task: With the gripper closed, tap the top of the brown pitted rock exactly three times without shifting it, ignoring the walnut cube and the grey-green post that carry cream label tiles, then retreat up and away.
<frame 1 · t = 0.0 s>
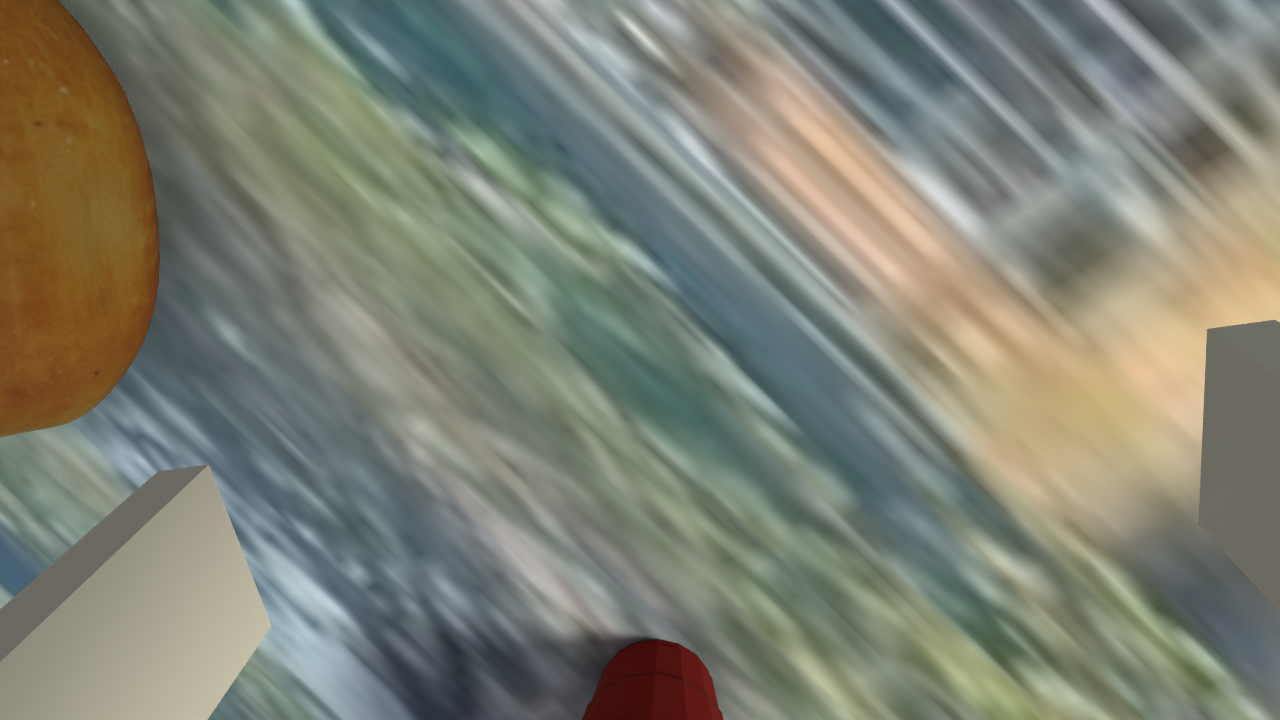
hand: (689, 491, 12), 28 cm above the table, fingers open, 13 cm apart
plastic cup: (660, 677, 49), on the table
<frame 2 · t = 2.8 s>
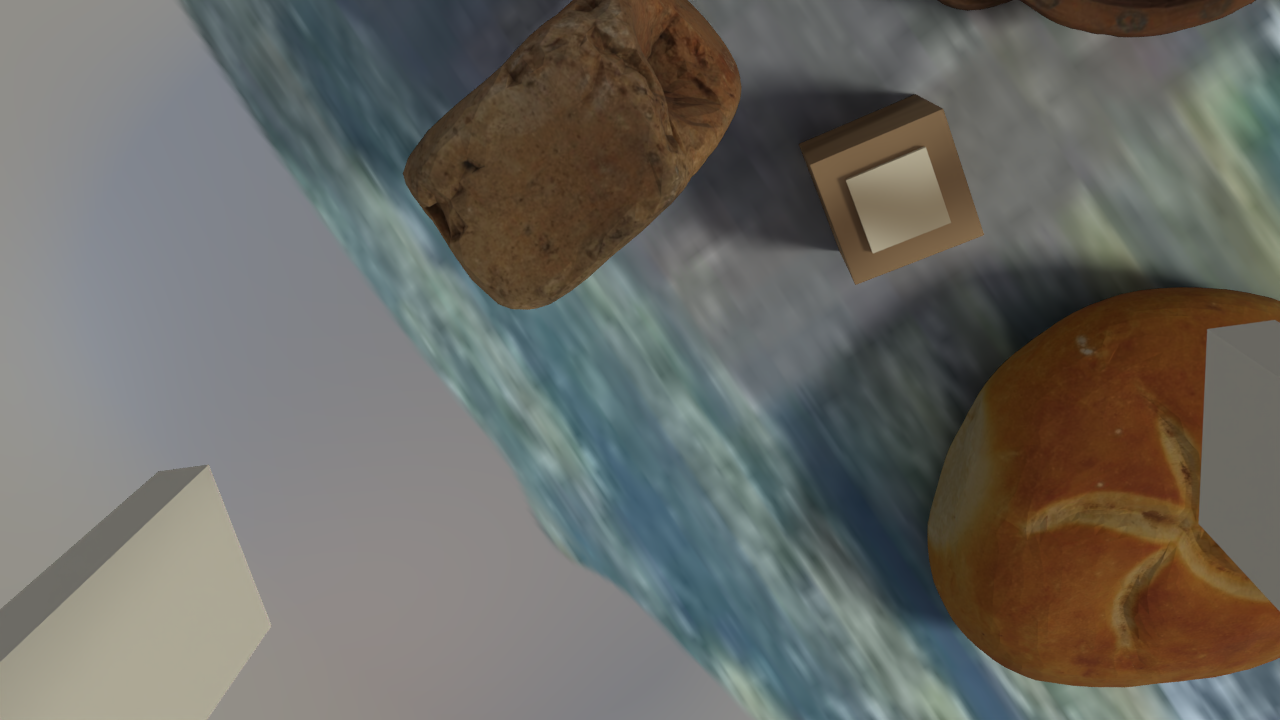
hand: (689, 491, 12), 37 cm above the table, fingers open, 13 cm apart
bread: (1114, 460, 52), on the table
walnut cube: (875, 175, 47), on the table
brown pitted rock: (623, 90, 46), on the table
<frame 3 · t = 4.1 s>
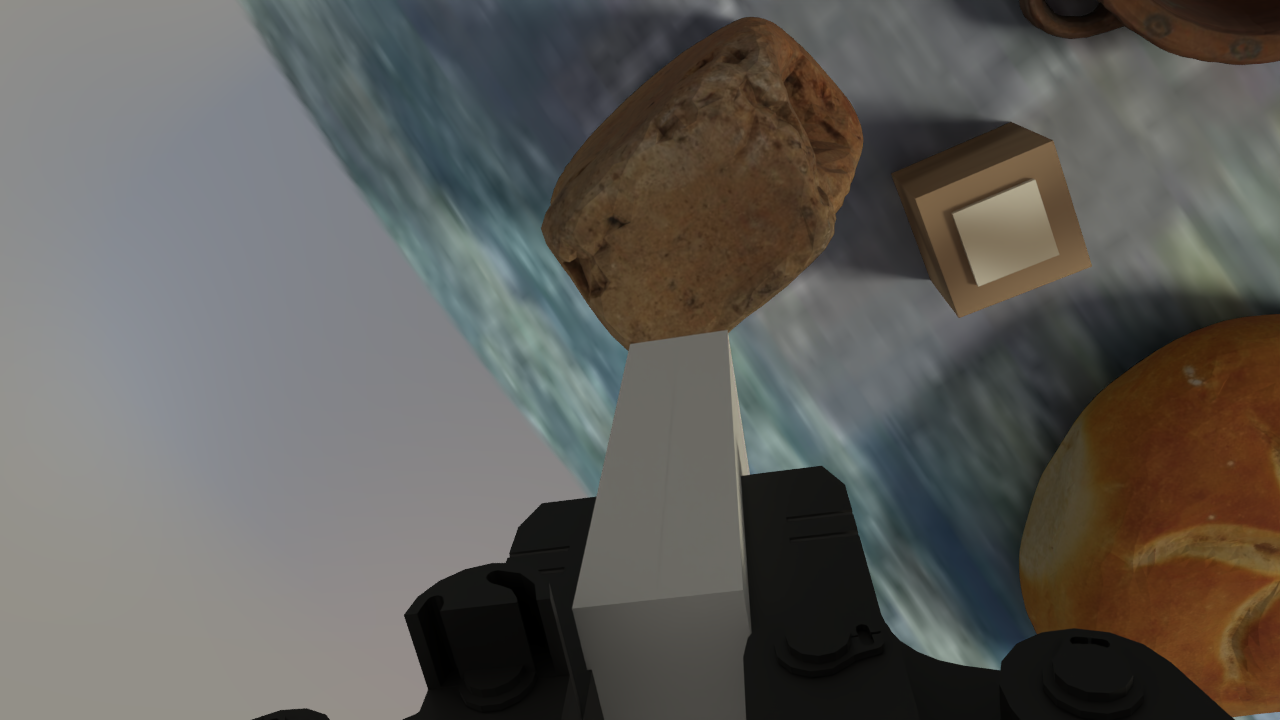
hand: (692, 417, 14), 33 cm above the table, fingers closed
bread: (1207, 485, 51), on the table
walnut cube: (969, 203, 46), on the table
brown pitted rock: (712, 123, 45), on the table
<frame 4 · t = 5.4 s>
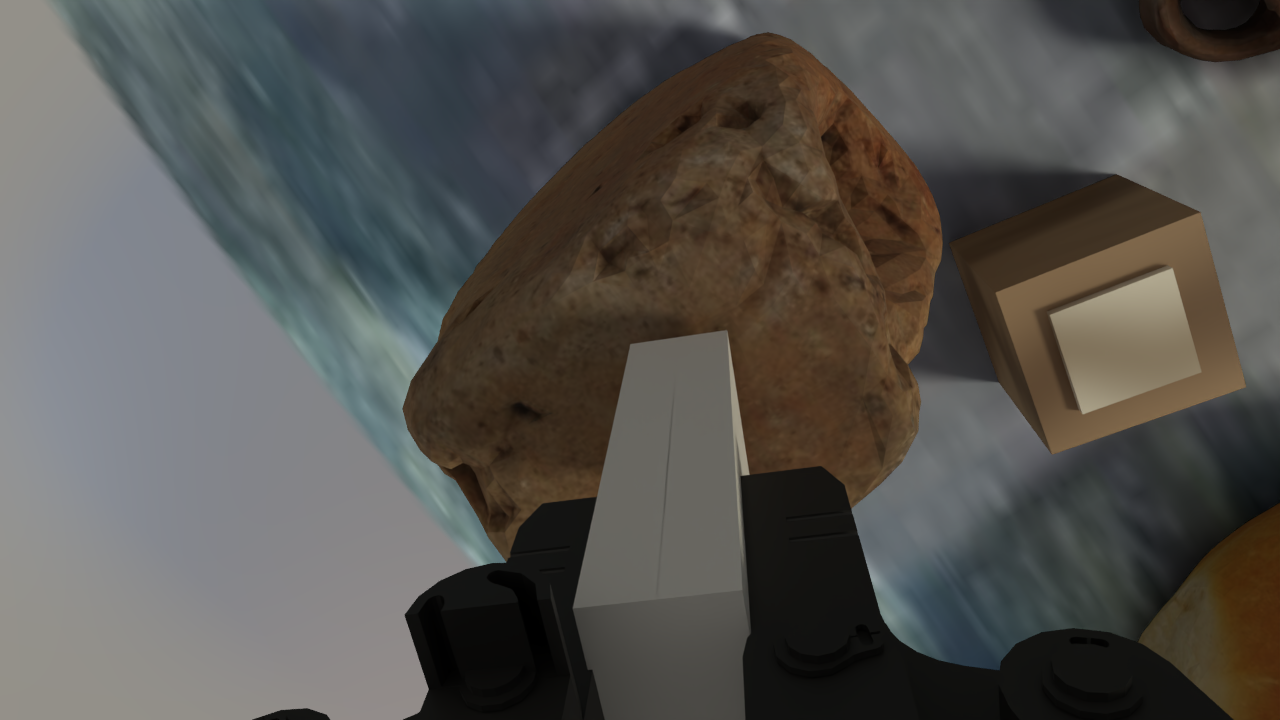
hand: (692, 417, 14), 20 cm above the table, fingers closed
walnut cube: (1054, 282, 34), on the table
brown pitted rock: (705, 173, 33), on the table, touching gripper
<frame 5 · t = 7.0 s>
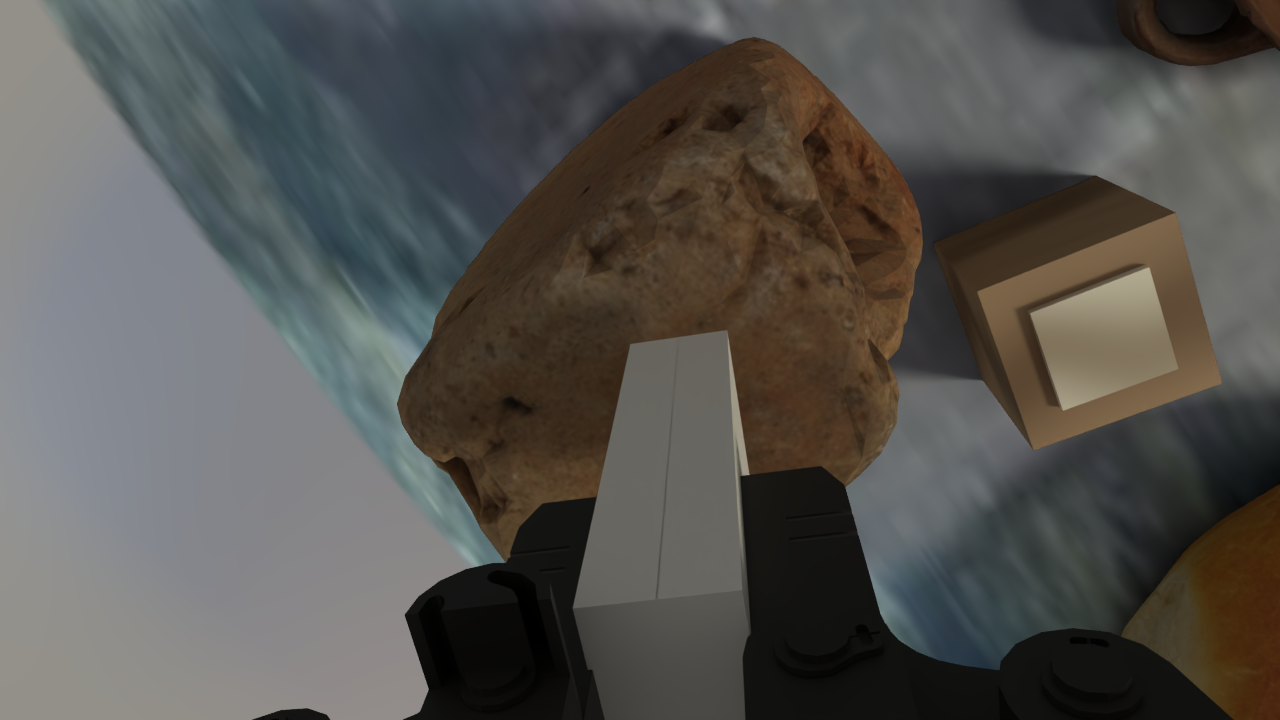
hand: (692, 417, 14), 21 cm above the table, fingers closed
walnut cube: (1036, 282, 34), on the table
brown pitted rock: (693, 176, 34), on the table
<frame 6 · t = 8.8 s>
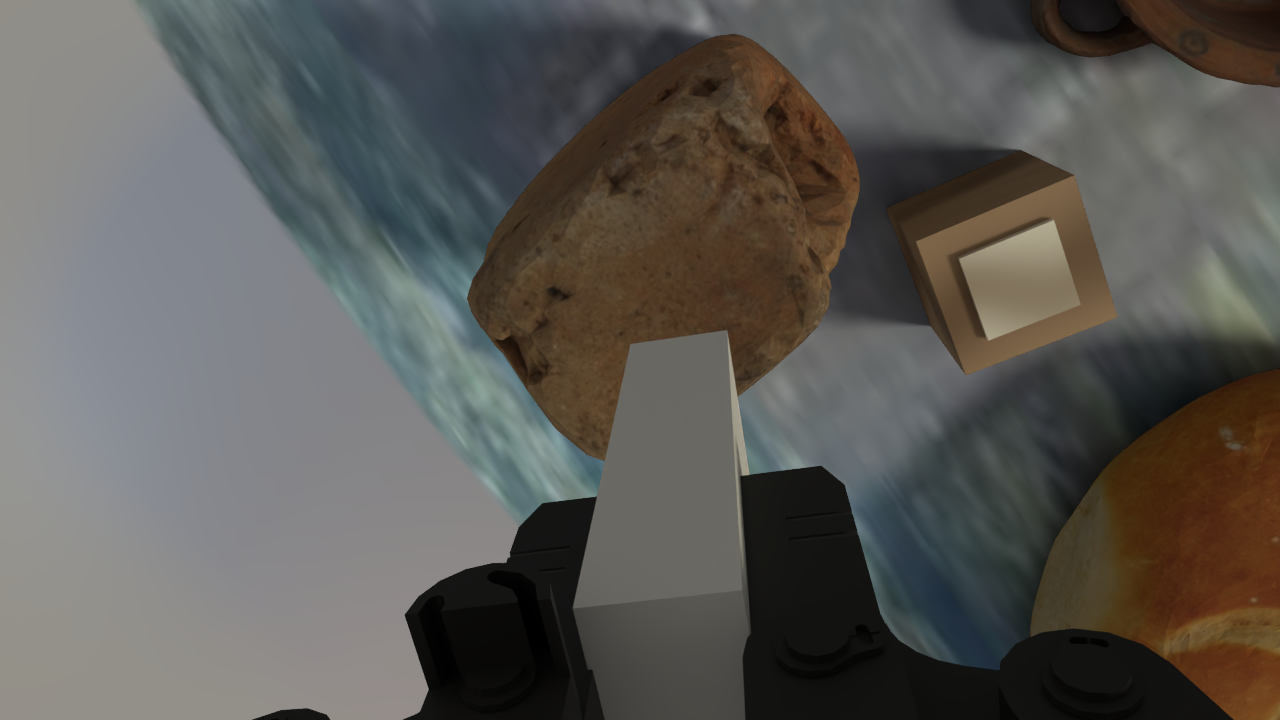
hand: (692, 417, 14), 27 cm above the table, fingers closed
bread: (1235, 548, 46), on the table
walnut cube: (973, 240, 41), on the table
brown pitted rock: (684, 151, 40), on the table
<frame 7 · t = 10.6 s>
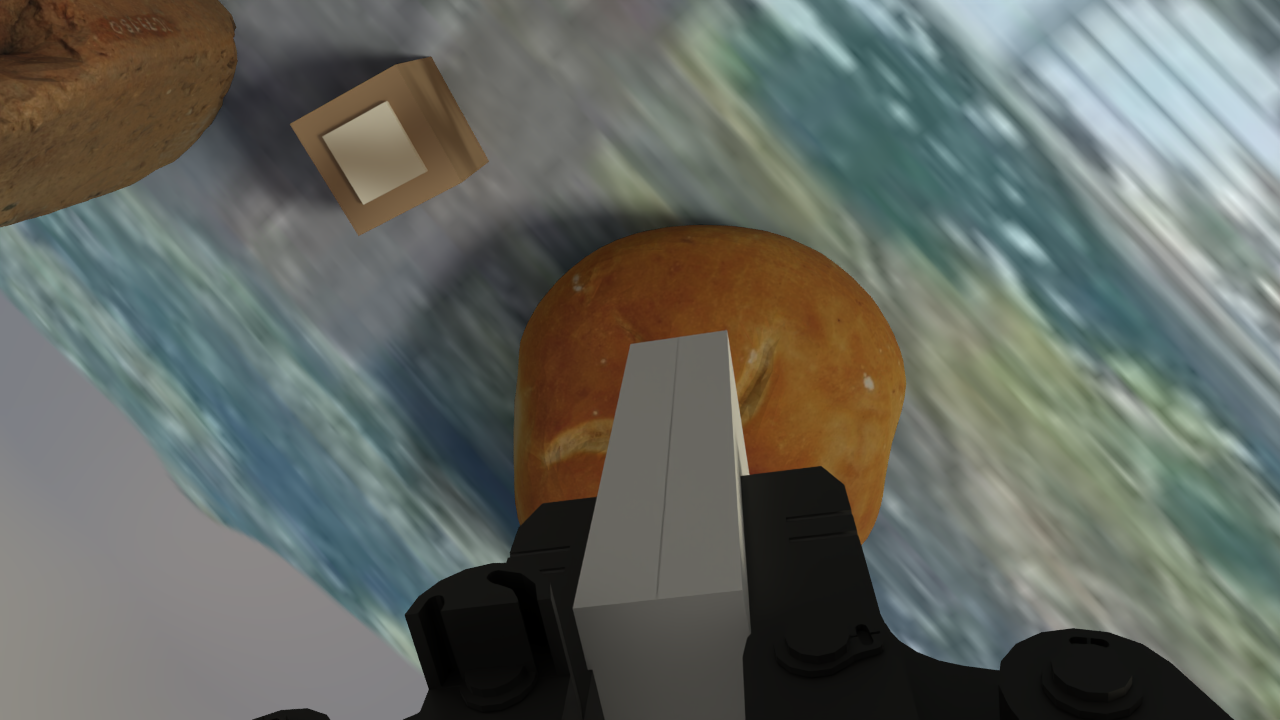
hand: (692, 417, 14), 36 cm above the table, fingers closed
bread: (695, 399, 54), on the table
walnut cube: (413, 135, 49), on the table
brown pitted rock: (168, 67, 49), on the table
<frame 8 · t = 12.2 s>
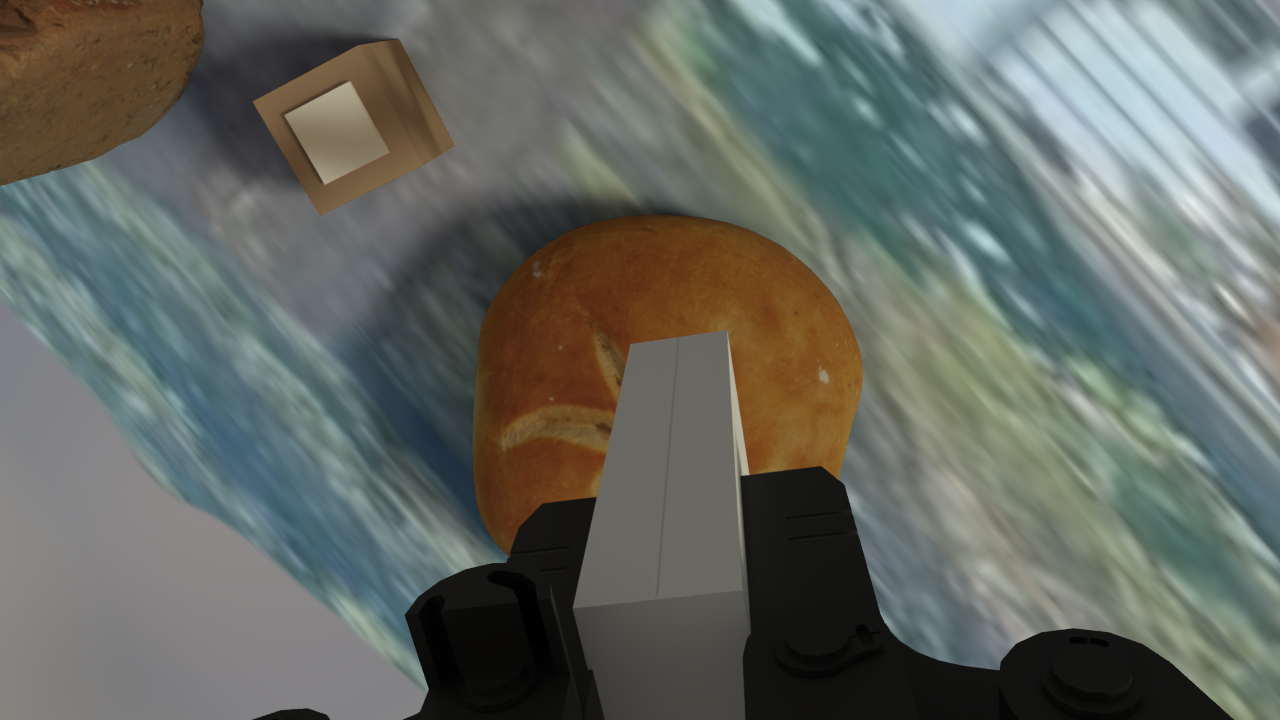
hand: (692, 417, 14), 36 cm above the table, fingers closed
bread: (657, 389, 54), on the table
walnut cube: (380, 117, 49), on the table
brown pitted rock: (135, 42, 49), on the table
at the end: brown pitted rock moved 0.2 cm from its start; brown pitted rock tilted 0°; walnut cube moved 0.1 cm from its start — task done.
